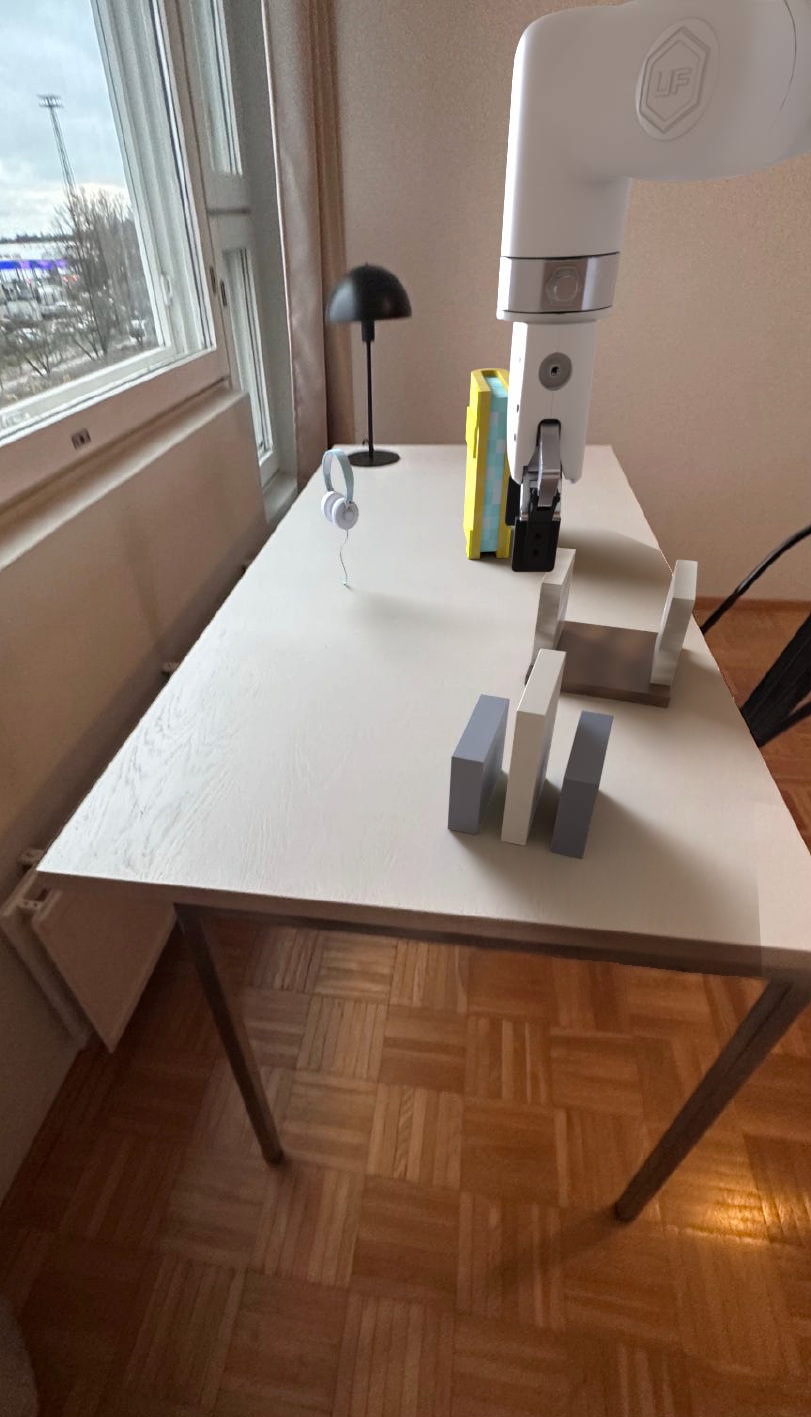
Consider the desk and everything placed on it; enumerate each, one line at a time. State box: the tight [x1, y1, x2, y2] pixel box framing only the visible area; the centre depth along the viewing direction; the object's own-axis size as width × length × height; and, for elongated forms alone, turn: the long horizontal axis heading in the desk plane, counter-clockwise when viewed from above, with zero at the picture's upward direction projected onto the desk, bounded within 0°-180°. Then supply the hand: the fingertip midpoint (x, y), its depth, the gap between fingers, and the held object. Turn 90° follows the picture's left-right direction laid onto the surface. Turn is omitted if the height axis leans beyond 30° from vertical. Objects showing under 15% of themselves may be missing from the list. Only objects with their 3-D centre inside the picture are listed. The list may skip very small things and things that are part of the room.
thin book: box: [500, 649, 566, 847], centre depth 67 cm, size 2×11×15 cm, turn 159°
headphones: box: [320, 448, 360, 585], centre depth 108 cm, size 8×4×20 cm, turn 27°
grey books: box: [447, 693, 614, 860], centre depth 69 cm, size 13×11×9 cm
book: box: [462, 367, 512, 560], centre depth 118 cm, size 17×7×25 cm, turn 179°
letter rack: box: [524, 547, 699, 709], centre depth 88 cm, size 17×16×12 cm
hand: (527, 546), depth 58 cm, fingers open, 9 cm apart
